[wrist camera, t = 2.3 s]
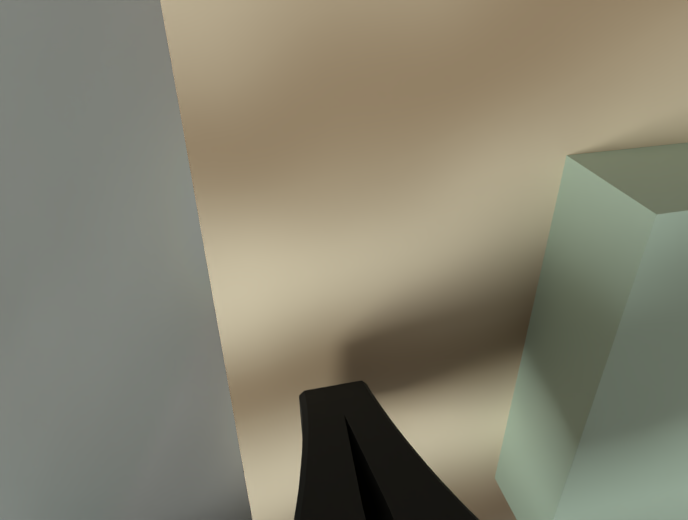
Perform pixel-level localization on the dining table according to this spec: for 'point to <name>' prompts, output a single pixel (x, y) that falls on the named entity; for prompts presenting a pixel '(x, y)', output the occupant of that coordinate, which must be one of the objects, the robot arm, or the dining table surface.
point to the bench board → (399, 199)
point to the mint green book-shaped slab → (607, 348)
